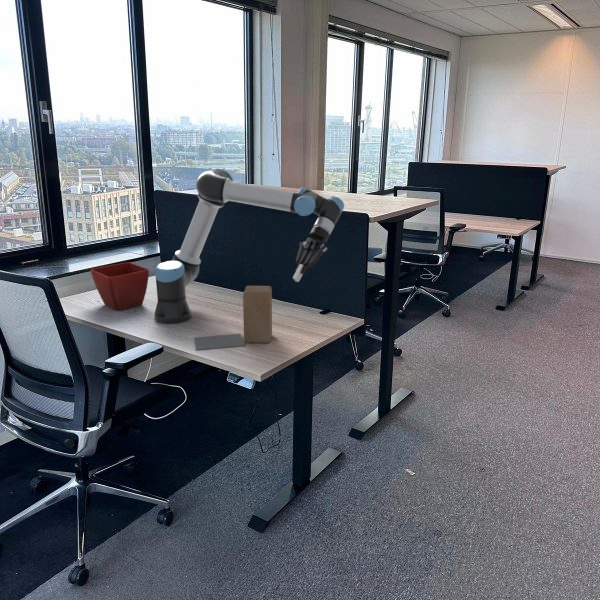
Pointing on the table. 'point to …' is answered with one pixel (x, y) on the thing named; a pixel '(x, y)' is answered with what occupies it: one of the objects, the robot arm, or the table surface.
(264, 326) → the block
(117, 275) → the plant pot
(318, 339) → the table surface
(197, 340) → the mat
